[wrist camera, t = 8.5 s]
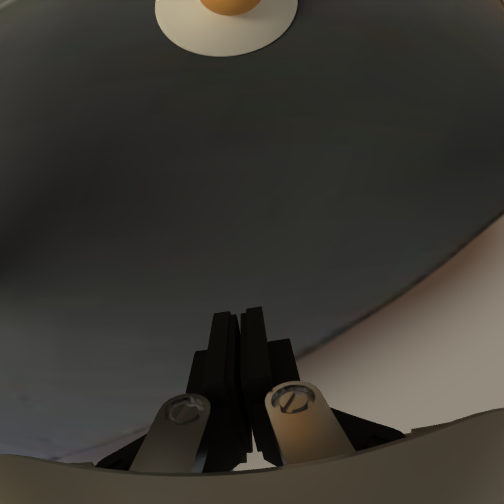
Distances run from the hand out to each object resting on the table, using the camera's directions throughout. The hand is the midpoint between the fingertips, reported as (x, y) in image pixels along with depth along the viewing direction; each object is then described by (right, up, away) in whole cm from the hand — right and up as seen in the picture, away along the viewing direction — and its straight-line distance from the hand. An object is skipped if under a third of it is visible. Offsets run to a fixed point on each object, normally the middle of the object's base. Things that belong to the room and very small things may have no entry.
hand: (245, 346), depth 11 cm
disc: (-2, +26, +11) cm, 28 cm away
